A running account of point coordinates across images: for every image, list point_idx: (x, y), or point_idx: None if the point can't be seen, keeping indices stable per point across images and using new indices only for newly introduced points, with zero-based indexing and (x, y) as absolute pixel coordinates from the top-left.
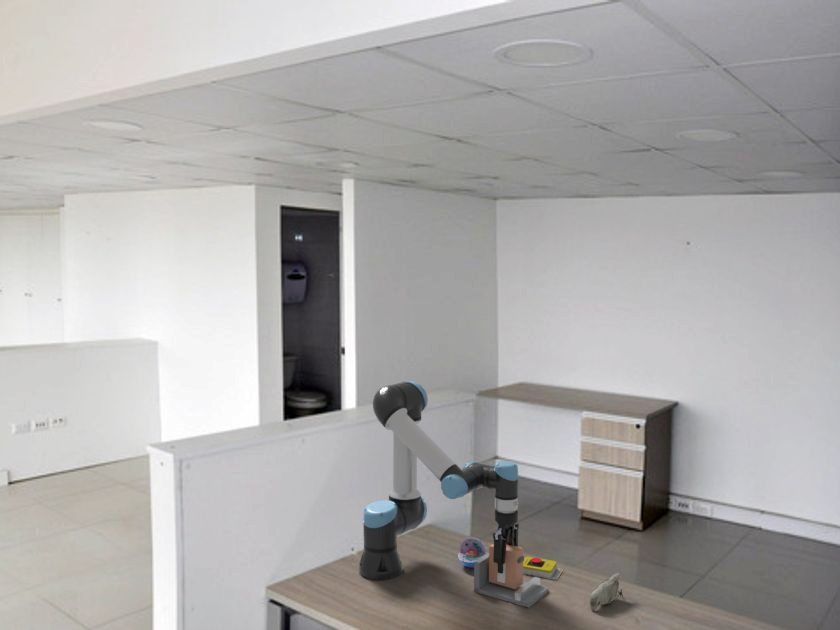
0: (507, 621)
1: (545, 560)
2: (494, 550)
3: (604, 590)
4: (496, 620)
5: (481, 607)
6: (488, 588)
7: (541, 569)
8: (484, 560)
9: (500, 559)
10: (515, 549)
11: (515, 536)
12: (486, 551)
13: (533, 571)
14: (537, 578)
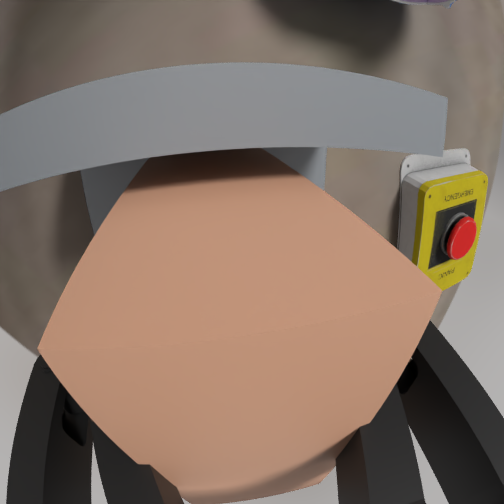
0: (34, 350)
1: (472, 246)
2: (16, 470)
3: None
4: (10, 327)
5: (8, 246)
6: (117, 176)
7: None
8: (66, 171)
9: (70, 429)
10: (256, 492)
11: (441, 475)
12: (446, 7)
13: (409, 243)
14: None
